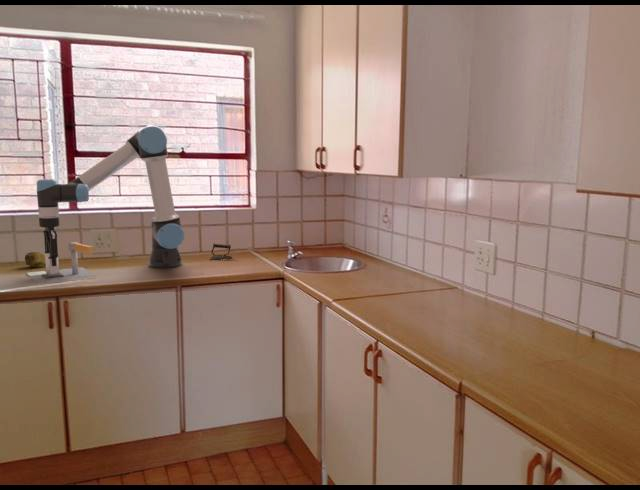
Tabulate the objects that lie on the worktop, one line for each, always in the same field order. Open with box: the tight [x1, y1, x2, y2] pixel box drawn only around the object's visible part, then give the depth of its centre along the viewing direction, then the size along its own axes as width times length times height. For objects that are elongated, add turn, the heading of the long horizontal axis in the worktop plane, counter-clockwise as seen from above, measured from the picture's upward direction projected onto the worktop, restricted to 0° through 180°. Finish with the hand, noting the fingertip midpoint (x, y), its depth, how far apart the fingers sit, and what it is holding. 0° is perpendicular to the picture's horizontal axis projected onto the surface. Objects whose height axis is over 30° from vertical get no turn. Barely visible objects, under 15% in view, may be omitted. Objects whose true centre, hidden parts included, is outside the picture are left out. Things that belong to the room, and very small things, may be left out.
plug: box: [44, 253, 60, 276], centre depth 234 cm, size 5×5×9 cm
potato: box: [24, 251, 46, 268], centre depth 253 cm, size 8×13×8 cm, turn 129°
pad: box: [26, 270, 46, 278], centre depth 238 cm, size 7×7×1 cm
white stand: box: [25, 251, 96, 285], centre depth 237 cm, size 23×21×11 cm
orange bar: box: [68, 241, 94, 255], centre depth 234 cm, size 16×4×3 cm, turn 51°
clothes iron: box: [209, 243, 234, 261], centre depth 282 cm, size 7×11×10 cm, turn 87°
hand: (52, 272), depth 234 cm, fingers closed on plug, 5 cm apart
